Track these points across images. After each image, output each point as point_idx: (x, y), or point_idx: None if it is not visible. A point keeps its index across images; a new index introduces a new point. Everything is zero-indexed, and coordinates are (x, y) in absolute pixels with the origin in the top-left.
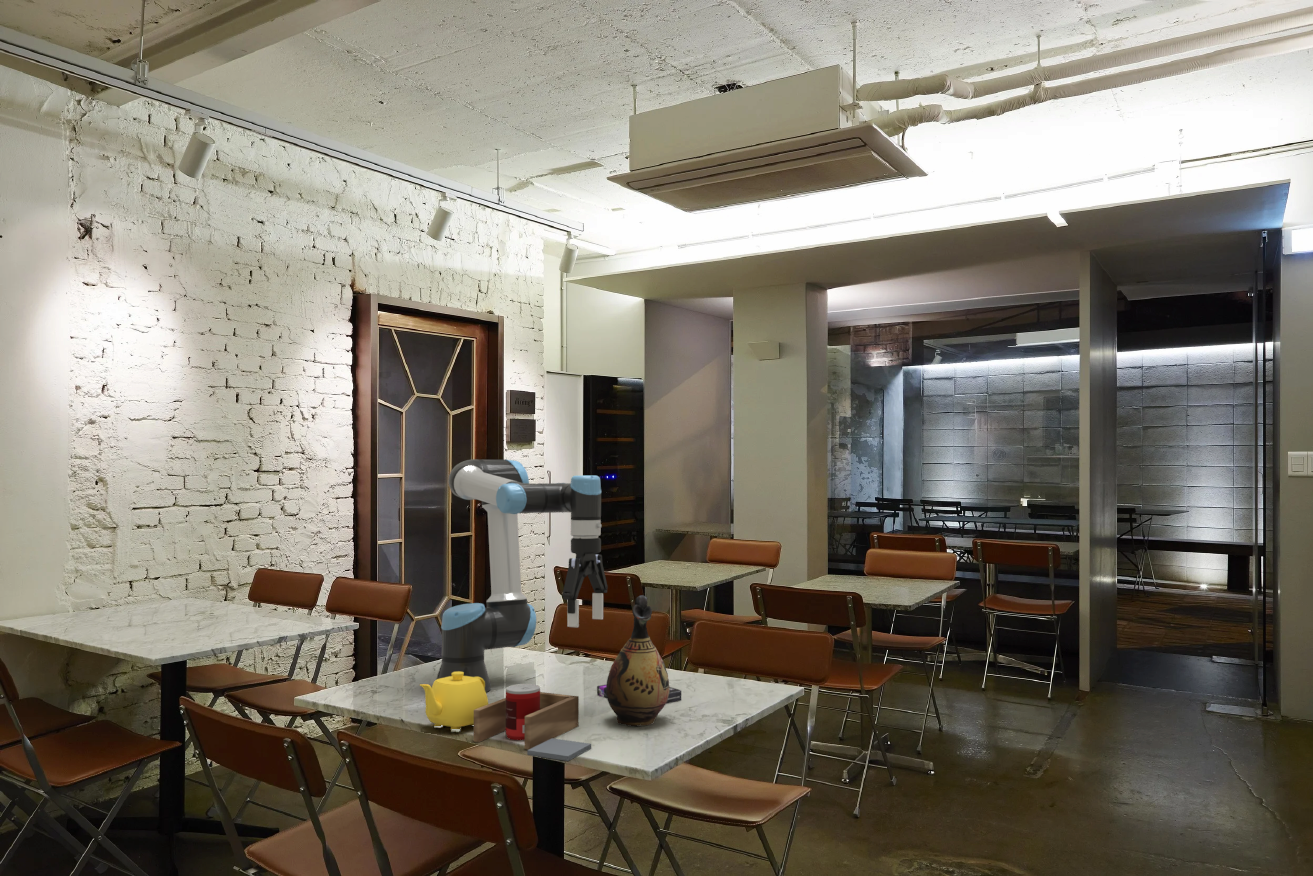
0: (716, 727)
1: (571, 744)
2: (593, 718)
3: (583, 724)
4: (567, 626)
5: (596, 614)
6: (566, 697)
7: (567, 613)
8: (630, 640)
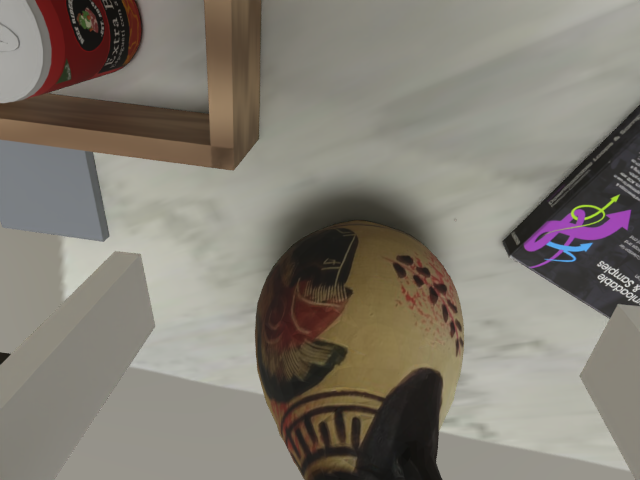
0: None
1: (71, 203)
2: (356, 147)
3: (283, 144)
4: (112, 254)
5: (620, 371)
6: (210, 130)
7: (37, 329)
8: (317, 459)
